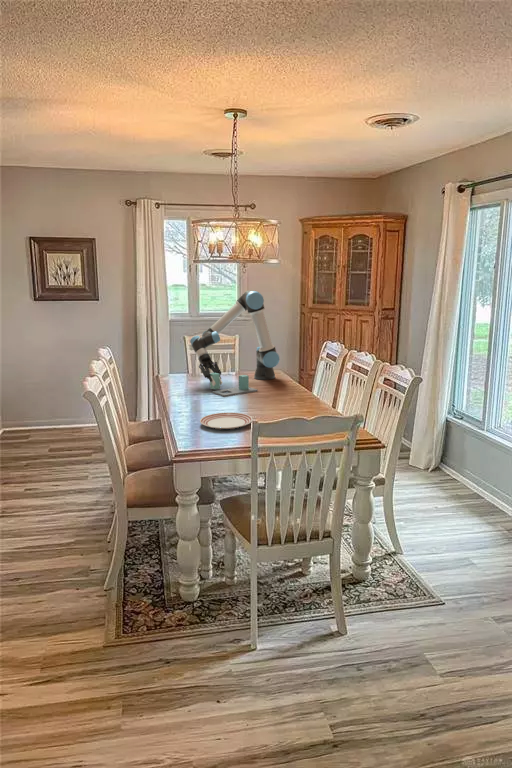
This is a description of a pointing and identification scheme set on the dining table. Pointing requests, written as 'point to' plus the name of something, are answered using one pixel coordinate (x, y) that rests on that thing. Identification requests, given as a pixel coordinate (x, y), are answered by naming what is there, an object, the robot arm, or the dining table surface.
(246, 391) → the grey slotted board
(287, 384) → the dining table surface
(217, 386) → the cylinder
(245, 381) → the block
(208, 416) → the dinner plate
